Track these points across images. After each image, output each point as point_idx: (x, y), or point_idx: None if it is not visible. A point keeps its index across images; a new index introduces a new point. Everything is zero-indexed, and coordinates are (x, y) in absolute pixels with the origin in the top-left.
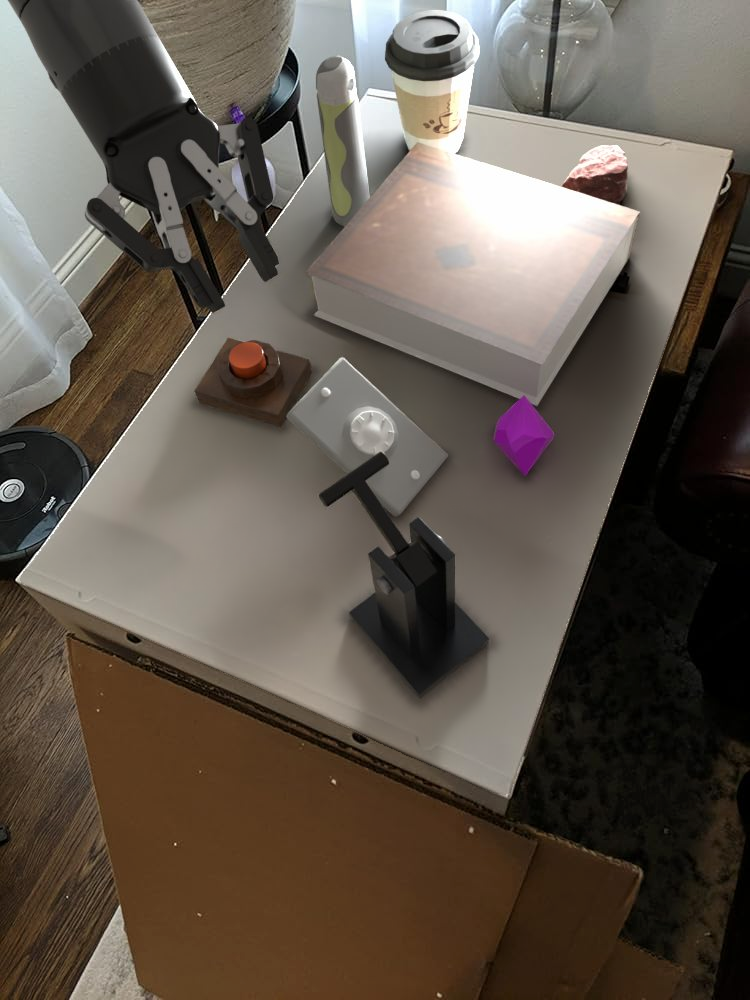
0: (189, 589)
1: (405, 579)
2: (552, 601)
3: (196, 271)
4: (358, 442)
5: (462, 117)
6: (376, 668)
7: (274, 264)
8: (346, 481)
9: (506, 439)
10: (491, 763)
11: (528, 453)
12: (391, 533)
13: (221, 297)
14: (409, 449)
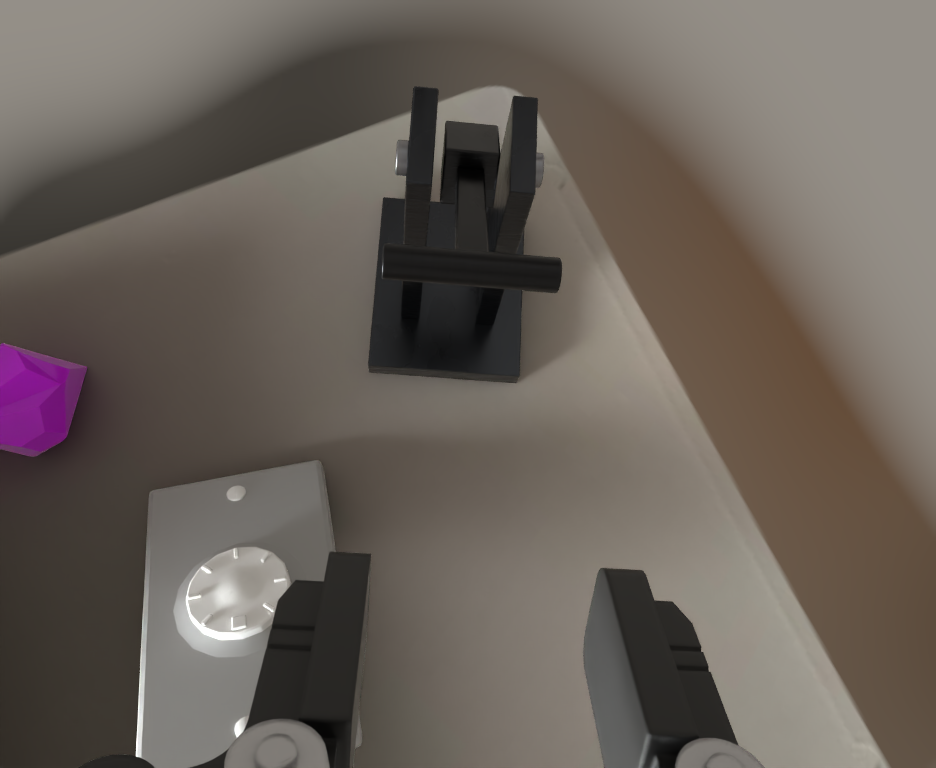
0: (704, 625)
1: (517, 113)
2: (258, 187)
3: (677, 693)
4: (281, 587)
5: None
6: (538, 294)
7: (316, 585)
8: (495, 259)
9: (55, 397)
10: (506, 103)
11: (51, 359)
12: (474, 187)
13: (608, 580)
14: (202, 534)
